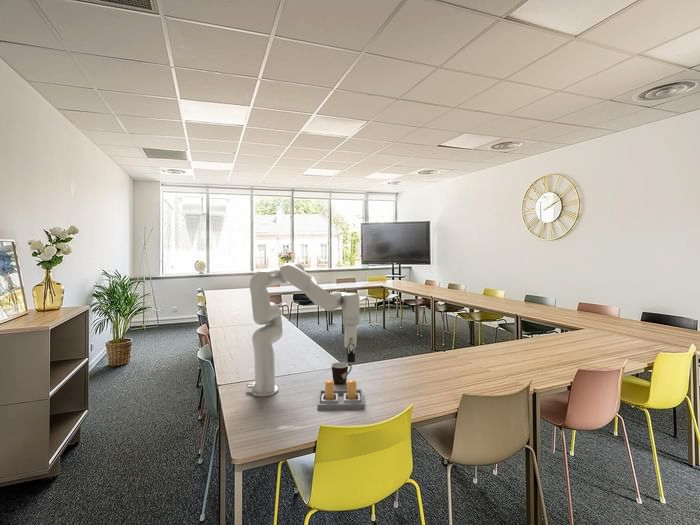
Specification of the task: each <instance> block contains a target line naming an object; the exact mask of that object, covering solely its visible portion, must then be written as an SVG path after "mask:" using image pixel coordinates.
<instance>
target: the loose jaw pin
mask: <svg viewBox="0 0 700 525" xmlns="http://www.w3.org/2000/svg"><path fill="white" fill-rule="evenodd" d="M346 386H347V387H346V390H347V399H356V390H357V380H356V379H347V380H346Z"/></svg>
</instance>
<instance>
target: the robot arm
mask: <svg viewBox="0 0 700 525" xmlns="http://www.w3.org/2000/svg"><path fill="white" fill-rule="evenodd" d="M287 283H288V284H290V285H291V286H294V287H295V288H296V289H298V290H300V291H301V292H302V293H304V294H305V295H306V297H308V299H309V301H311V302H312V303H313V304H315V305H317V306H318V307H320V308H322V309H324V310H325V311H328V312H333V311H335V310H337V309H340V308H342V325H344V348H346V356H347V362H346V363H355V362H356V352H355V348H356V347H357V331H358V330H357V329H358V328H357V326H359V325H360V295H359V293H357V292H342V291H339V290H338V291H332V292H329V291H326V290H325V289H323V288H322V287H321V286H319V285H318V283H317V281H316V277H315V276H314V275H312V274H310V273H309V272H306V270H305V267H304V265H302V264H301V263H298V262H289V263H285V264H283V265H282V266H280V267H276V268H275V267H274V268H273V267H272V268H265V269H261V270H259V271H256V272H255V273H254V274H253V275H252V276H251V278H250V281H249V291H250V297H251V308H252V310H251V311H252V318H253V321H254V323H255V324H257V325H261V327H259V328H258V329H256V330H255V331H254V332H253V333H252V334H253V335H252V337H251V338H252V339H251V341H252V346H253V356H254V357H253V360H254V381H252V382H246V384H245V387H246V388H247V389H251V394H252V395H253V396H255V397H264V398H265V397H269V396H270V397H271V396H273V395H275V394H276V393H278V391H279V387H278V386H277V385H276V371H275V370H276V366H275V365H276V364H275V362H276V361H275V360H276V359H275V350H274V347H273V344H274V343H277V342H278V341H280V340H281V338H282V337H283V332H284V331H283V320H282V312H281V308H280V306H279V305H278V304H276V303H275V302H271V301H270V299H271V298H270V293H269V291H268V289H267V288H269V287H274V286H279V285H282V284H287ZM262 325H264V326H262Z"/></svg>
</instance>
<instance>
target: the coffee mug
mask: <svg viewBox="0 0 700 525" xmlns="http://www.w3.org/2000/svg"><path fill="white" fill-rule="evenodd" d="M349 366H350V368H349ZM352 367H353V366H352V365H351V364H348V362H343V361H342V362H341V361H336V362H333V363H331V373H332V380H333V381H334V385H337V386H343V385H346V384H347V381H348V375H349V374H350V372H351V371H352V369H353V368H352ZM348 368H349V369H348ZM348 370H349V371H348Z"/></svg>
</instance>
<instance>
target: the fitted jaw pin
mask: <svg viewBox="0 0 700 525" xmlns="http://www.w3.org/2000/svg"><path fill="white" fill-rule="evenodd" d="M324 390H325V400H334V390H335V384H334V381H333V379H327V380H325V382H324Z"/></svg>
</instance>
